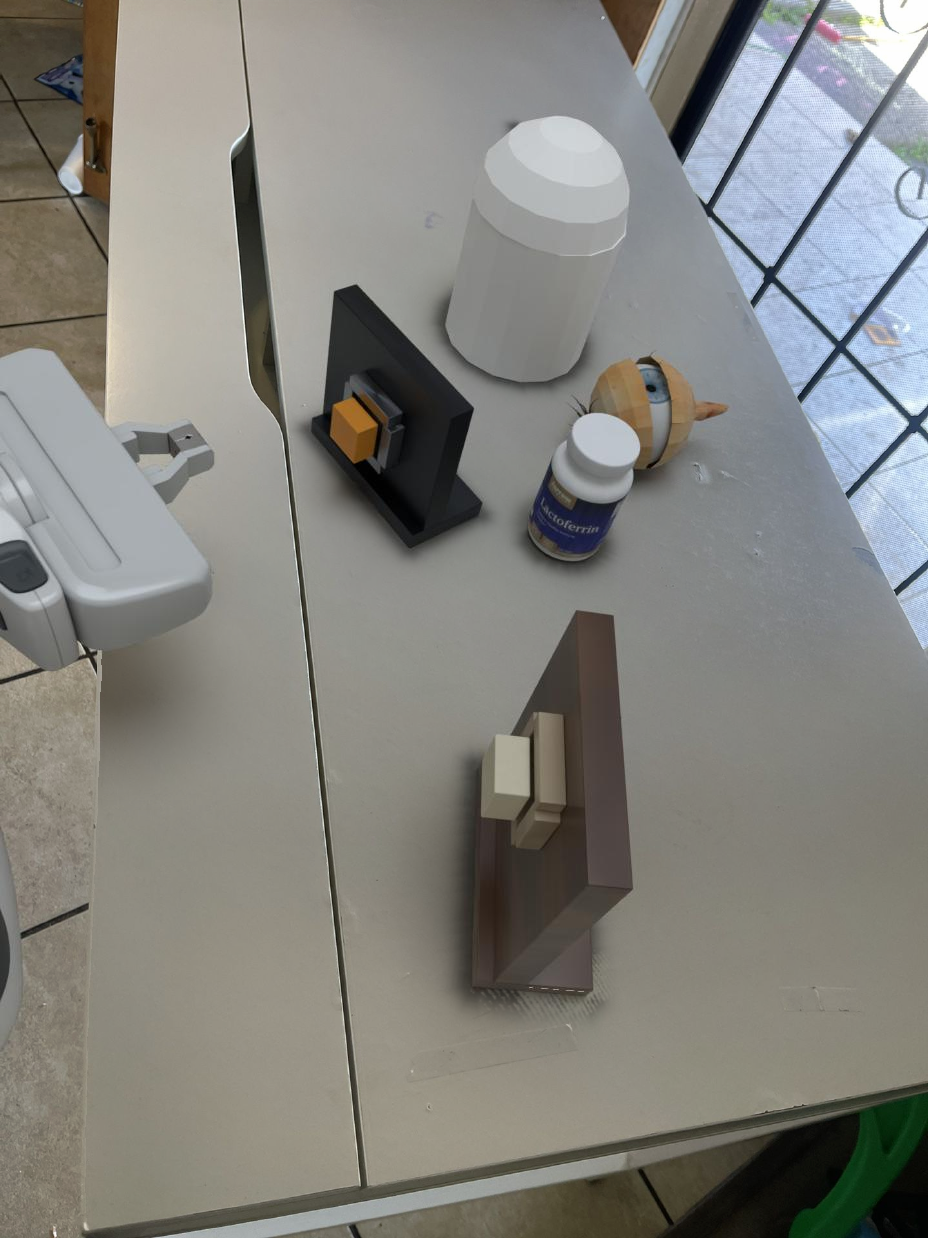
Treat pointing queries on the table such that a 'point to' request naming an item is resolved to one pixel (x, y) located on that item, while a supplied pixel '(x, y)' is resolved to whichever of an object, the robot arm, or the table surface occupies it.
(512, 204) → the container
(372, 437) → the button far
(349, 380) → the black button panel
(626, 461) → the pill bottle
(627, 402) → the sculpture
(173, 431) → the robot arm
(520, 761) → the button near
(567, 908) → the brown button panel
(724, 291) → the table surface
